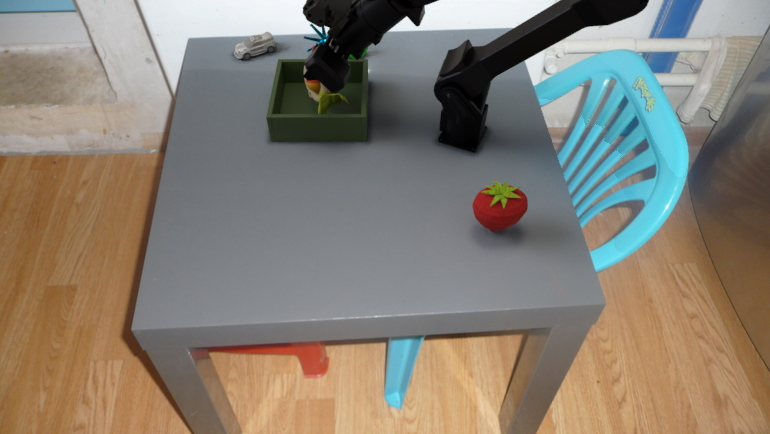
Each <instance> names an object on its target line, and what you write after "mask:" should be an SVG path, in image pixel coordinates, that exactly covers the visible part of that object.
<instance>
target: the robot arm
mask: <svg viewBox="0 0 770 434" xmlns="http://www.w3.org/2000/svg"><path fill="white" fill-rule="evenodd" d="M439 1H440V0H306V1H305V3H304V5H303V7H302V14H303V16H304V18H305V19H306V21H308V22H309V23H310V24H313V25H314V26H315V27H318V28H321V27H323V26H324V27H326V28H329V29H328V30H327V32H326V35H329V37H328V38H327V40H326V41H325V43H324V44H323V45H322V44H320V45H318V43H316V44H314V46H315V47H314V49H313V50H311V51H310V54H309V55H308V57H307V58H306V59H307V60H306V62H305V68H306V69H307V71H306V73H305V74H304V78H305V79H306V80H308V81H312V80H318V81H319V82H320V83H321V84H323V85H324V86H325V87H326V88H327V89H328V90H329V91H330V92H331V93H333V94H336V93H338V92H339V91H340V90H342V89H343V88H344V87H345V85H346V83H347V81H348V79H349V77H350V75H351V70H350V66H349V62H348V59H350V57H349V56H350V55H352V56H353V57H354V58H355V59H356V60H358V59H362V57H363V56H364V55H363V53H364V51H365V49H366V48H368V49H369V47H370V46H371V45H374V46H375V47H376V46H377V45H379V44H380V43H381V41H382V39H383V37H384V36H385V34H387V33H388V32H389V31H390V30H391V29H393V28H394V27H395V26H396V25H398V24H399V23H400V22H402V21H403V20H404V19H405V18H408V19H409V20H410V21H411V23H412V24H413V25H414V26H415V27H420V26H421V24H422V21H423V19H424V17H425V14H426V7H425V6H428V5H431V4H434V3H437V2H439ZM649 2H650V0H558V1H556V2H555V3H553V4H551V5H549V6H548V7H546V8H545V9H543V10H541V11H540V12H538V13H537V14H535V15H533V16H532V17H530V18H528V19H526V20H525V21H523V22H521V23H519V24H518V25H516V26H515V27H513V28H512V29H510V30H508V31H506V32H504V33H503V34H502V35H500V36H499V37H497V38H495V39H493V40H491V41H490V42H488V43H487V44H484V45H477V46H476V45H475V46H473V44H472V42H471V41H470V39H466V40H464V42H462V43H461V44H459V46H457V47H454V48H451V49H448V50H447V53H446V55H445V58H444V59H443V61H442V64H441V66H440V69H439V72H438V75H437V77H436V80H435V82H434V85H433V94H434V96H435V98H436V100H437V101H438V102H439V103H440V104H441V107H442V109H441V110H440V115H439V126H438V131H439V132H440V134H439V135H438V137H437V142H438V143H441V144H444V145H447V146H451V147H454V148H457V149H460V150H464V151H467V152H469V153H476V152H477V150H478V148H479V147H480V144H481V143H482V142H483V139H484V137H485V135H486V133H487V131H488V126H487V125H486V123H487V117H488V112H489V106H490V105H489V104H488V103H487V99H488V95H489V91H490V88H491V85H492V81H493V80H494V79H495V78H496V77H498V76H500V75H501V74H503V73H505V72H507V71H509V70H511V69H513V68H514V67H516V66H518V65H520V64H521V63H523V62H525V61H527V60H528V59H530V58H533V57H534V56H536V55H538V54H540V53H542V52H543V51H545V50H546V49H548V48H550V47H552V46H554V45H556V44H558V43H559V42H562V41H563V40H565V39H567V38H568V37H571V36H573V35H574V34H576V33H579V32H580V31H581V30H583V29H585V28H591V27H604V26H605V27H606V26H610V25H613V24H616V23H619V22H622V21H625V20H627V19H630V18H633V17H635V16H638V15H639V14H640V13H641V12H643V11H644V10H645V9H646V8H647V7H648V5H649ZM362 55H363V56H362Z"/></svg>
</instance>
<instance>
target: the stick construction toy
mask: <svg viewBox="0 0 770 434" xmlns="http://www.w3.org/2000/svg"><path fill="white" fill-rule="evenodd" d="M309 26H310V27H311V28H312V29H313V31H314V32H315V33H316V34H317V35H318V37H319V38H318V37H312V36H307V35H304V36H303V37H302V38H303V40H304V39H305V40H308V41H312V42H315V43H317V44H318V45H320V44H322V45H323V44H324V43H325V41H326V40H327V38H328V37H329V35H328V34H327V32H326V28H325V27H326V26H323V27H320V28H321V31H320V30H319V29H318V28H317V26H316V25H315V24H313V23H310V24H309ZM368 49H369V47H368V48H366V49H365V51H364V53H363V55H362V57H363V56H364V55H365V54H366V53H367V51H368ZM305 51H306V53H310V52H312V46H311V47H309V48H308V49H306V50H305ZM349 59H355V58H354V57H353V56H352V55H350V56H349Z"/></svg>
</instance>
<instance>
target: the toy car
mask: <svg viewBox="0 0 770 434" xmlns="http://www.w3.org/2000/svg"><path fill="white" fill-rule="evenodd" d="M275 48H276V49H277V48H278V47H277V42H276V40H275V38H274V35H273V34H272V33H271V32H269V31H265V32H262V33H259V34H254V35H251V36H249V37H247V38H246V39H245V40H244V41H241V42H239V43H237V44H236V45H235V47H234V52H233V54H234V56H235V58H236V59H238V60H241V59H244V60H246V61H247V60H248V61H249V59H251V57H255V56H258V55H262V54H264V53H267V52H268V54H271V53H273V52H275Z"/></svg>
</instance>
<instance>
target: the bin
mask: <svg viewBox="0 0 770 434" xmlns="http://www.w3.org/2000/svg"><path fill="white" fill-rule="evenodd" d="M307 59H308V58H278V59H277V62H276V68H275V73H274V78H273V81H272V87H271V92H270V97H269V101H268V107H267V112H266V117H265V118H266V124H267V129H268V133H269V134H268V135H269V139H270V141H271V142H367V141H368V120H369V119H368V117H369V88H370V87H369V83H370V82H369V59H368V58H359V59H358V60H356V59H353V58H348V62H349V66H350V70H351V75H350V77H349V79H348V81H347V83H346V85H345V87H344V88H343V89H342V90H340V91H339V92H338V93H339V94H341V95H343V96H344V97H345V98H346V99H347V100H348V103H349V105H347V104H346V103H345V102H344V100H342V101H341V102H340V103H338V104H329V108H328V110H327V113H326V114H318V107H319V102H316V101H315V100H314V99H312V98H310V97H309V92H308V89H307V87H306V83H305V79H304V66H305V62H306V60H307ZM332 94H333V93H332Z"/></svg>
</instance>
